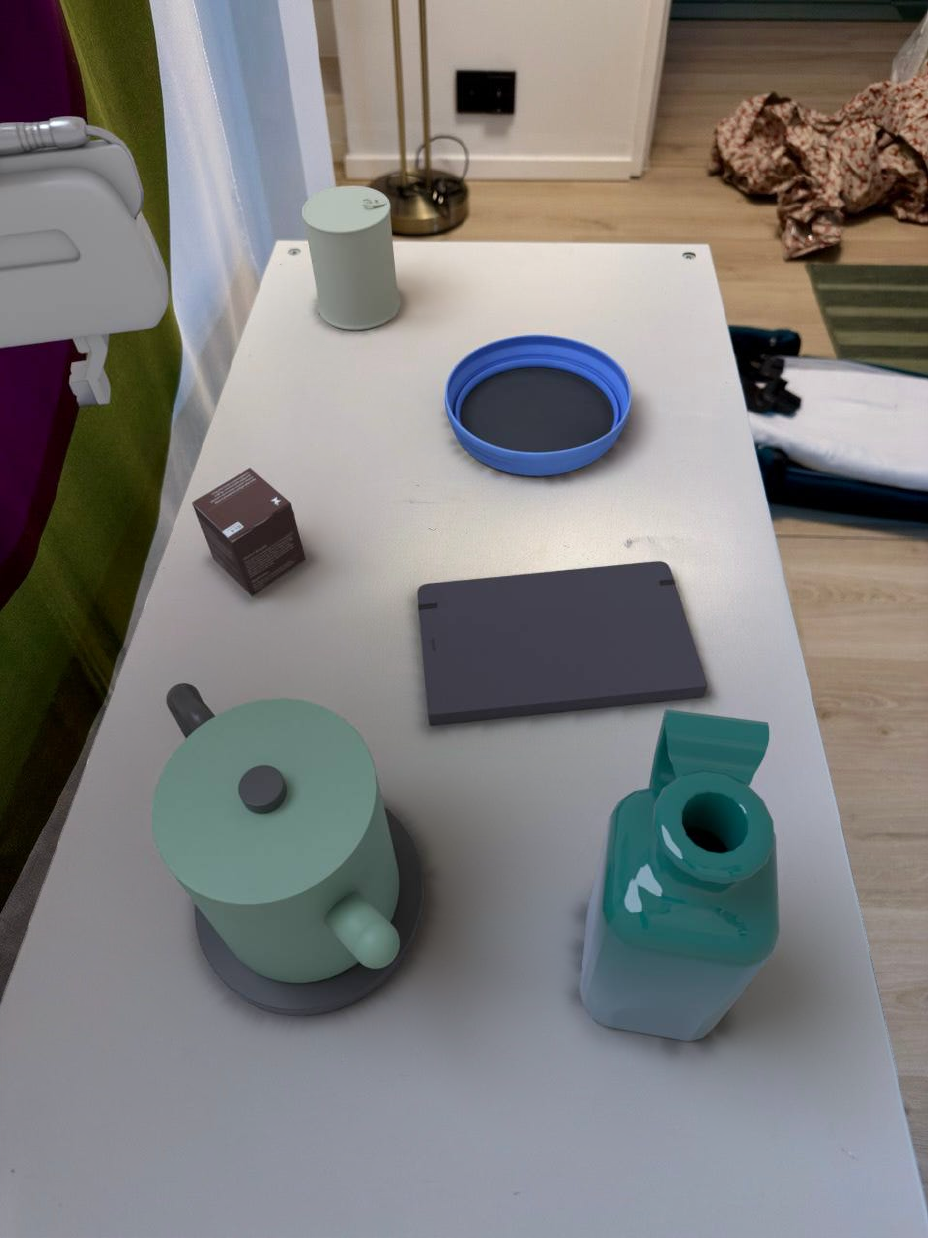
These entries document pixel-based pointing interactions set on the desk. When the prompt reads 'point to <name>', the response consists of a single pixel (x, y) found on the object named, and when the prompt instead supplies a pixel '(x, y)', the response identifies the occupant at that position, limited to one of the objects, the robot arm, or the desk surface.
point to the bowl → (537, 404)
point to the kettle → (279, 835)
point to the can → (352, 256)
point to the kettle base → (336, 988)
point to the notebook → (555, 642)
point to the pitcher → (684, 885)
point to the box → (250, 530)
